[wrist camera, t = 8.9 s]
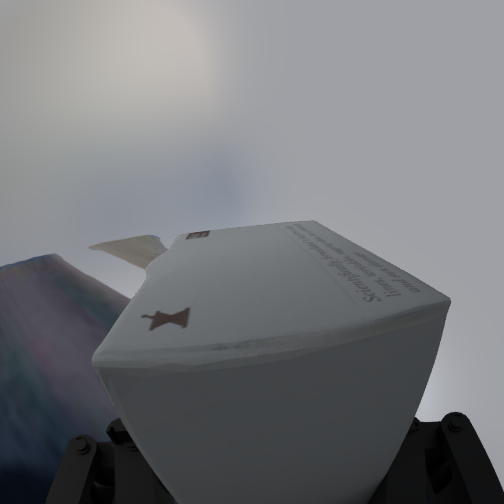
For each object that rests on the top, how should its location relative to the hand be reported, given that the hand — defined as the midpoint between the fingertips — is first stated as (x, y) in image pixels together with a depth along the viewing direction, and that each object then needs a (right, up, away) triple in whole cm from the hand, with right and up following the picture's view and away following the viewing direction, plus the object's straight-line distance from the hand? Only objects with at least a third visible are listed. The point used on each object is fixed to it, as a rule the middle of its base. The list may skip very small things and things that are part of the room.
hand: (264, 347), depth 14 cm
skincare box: (+1, -9, -2) cm, 10 cm away
